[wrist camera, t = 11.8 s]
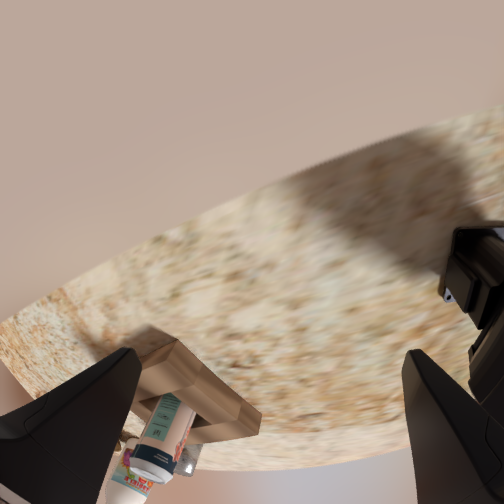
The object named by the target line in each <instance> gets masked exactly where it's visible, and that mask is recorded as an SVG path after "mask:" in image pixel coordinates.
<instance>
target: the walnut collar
mask: <svg viewBox="0 0 504 504" xmlns="http://www.w3.org/2000/svg"><path fill="white" fill-rule="evenodd" d="M139 359H140V361H141V363H142V372H141V375H140V379H139V382H138V385H137V389H136V392H135V396H134V399H133V403H132V406H131V408H130V410H131V411H132V412H133V413H134V414H136V415H137V416H138V417H140V418H141V419H142V420H144V421H145V422H146V423H147V422H148V420H149V418H150V416H151V414H152V412H153V410H154V408H155V406H156V404H157V402H158V400H159V398H160V396H161V395H162V394H166V393H169V392H171V393H172V394H173V395H175V396H176V397H177V398H178V399H179V400H181V401H182V402H183V403H184V404H186V405H187V406H188V407H189V408H191V409H192V410H193V411H195V412H196V415H195V418H194V420H193V423H192V426H191V428H190V431H189V434H188V436H187V439H186V441H185V444H184V445H195V444H204V443H212V442H220V441H226V440H233V439H239V438H244V437H250V436H255V435H258V433H259V428H260V423H261V418H262V414H261V413H260V412H258V411H257V410H256V409H255V408H253V407H252V406H251V405H250V404H248V403H247V402H246V401H245V400H244V399H242V398H241V397H240V396H239V395H238V394H236V393H235V392H234V391H233V390H232V389H231V388H229V387H228V386H227V385H226V384H225V383H224V382H223V381H222V380H220V379H219V378H218V377H217V376H216V375H215V374H214V373H213V372H211V371H210V370H209V369H208V368H207V367H206V366H205V365H204V364H203V363H202V362H201V361H200V360H199V359H198V358H196V357H195V356H194V355H193V354H192V353H191V352H190V351H189V350H188V349H187V348H186V347H185V346H184V345H183V344H182V343H181V342H180V341H179V340H176V341H174V342H172V343H170V344H168V345H166V346H164V347H162V348H159V349H157V350H155V351H153V352H151V353H149V354H147V355H145V356H143V357H141V358H139Z"/></svg>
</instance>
